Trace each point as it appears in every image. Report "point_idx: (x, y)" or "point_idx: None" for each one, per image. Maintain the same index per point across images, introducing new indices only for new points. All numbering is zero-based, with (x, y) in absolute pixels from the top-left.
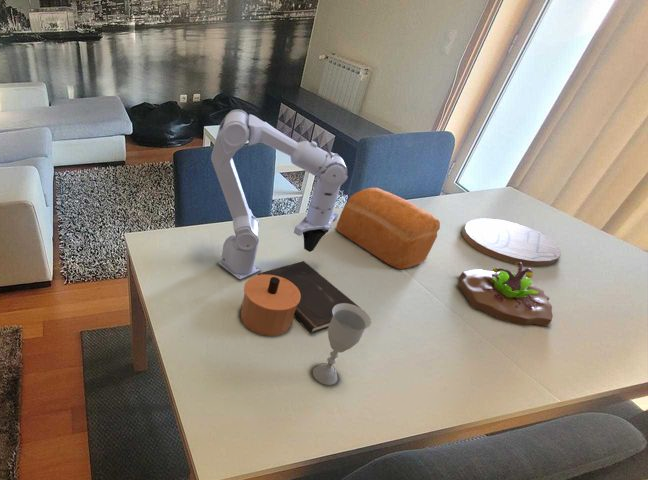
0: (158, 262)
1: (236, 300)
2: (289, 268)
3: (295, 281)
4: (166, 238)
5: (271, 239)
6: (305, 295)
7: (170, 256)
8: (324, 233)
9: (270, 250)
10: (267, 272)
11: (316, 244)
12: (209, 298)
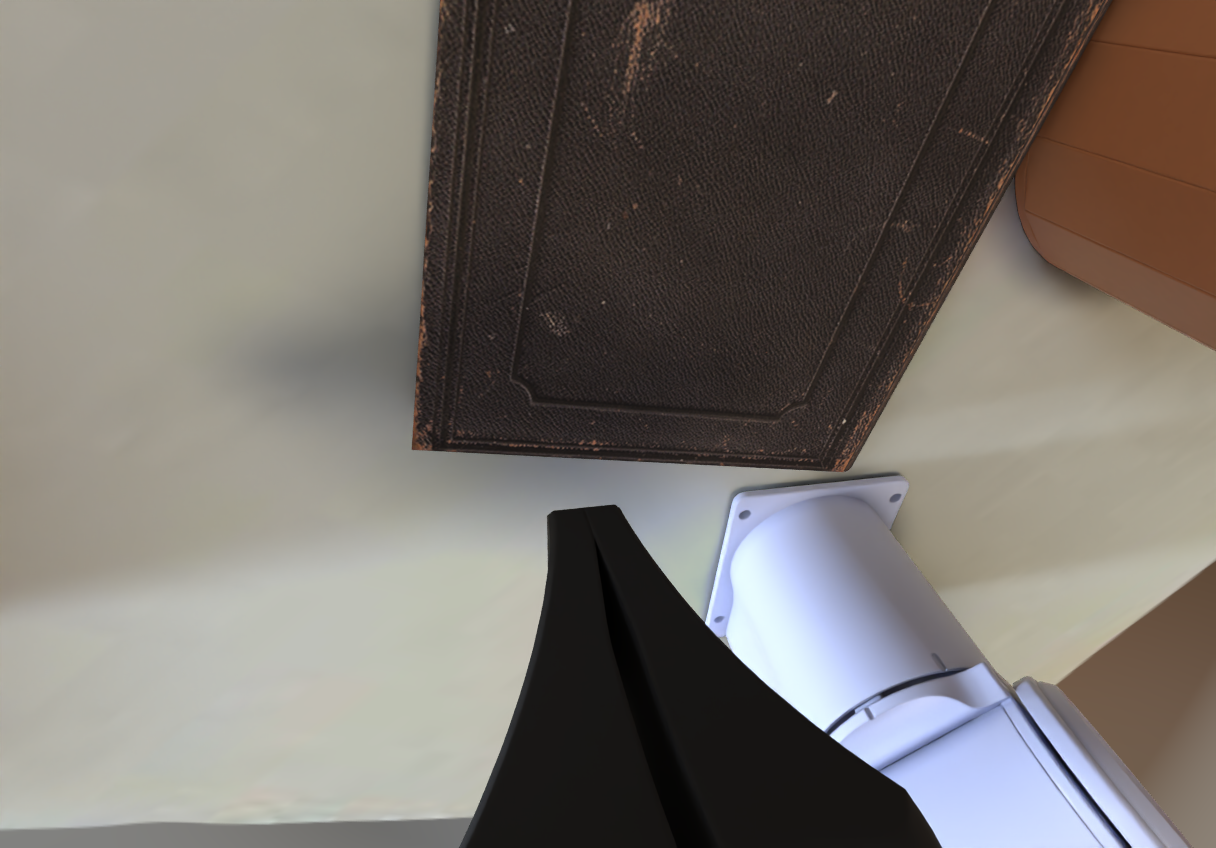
0: (1005, 676)
1: (1098, 342)
2: (621, 424)
3: (742, 270)
4: None
5: (380, 687)
6: (878, 45)
7: None
8: (590, 842)
9: (481, 614)
10: (803, 455)
11: (565, 588)
12: (1151, 422)
